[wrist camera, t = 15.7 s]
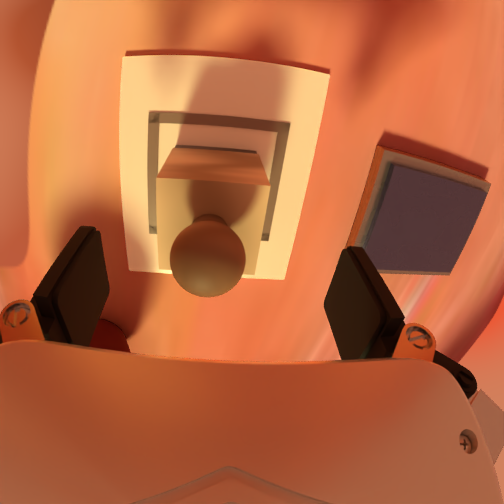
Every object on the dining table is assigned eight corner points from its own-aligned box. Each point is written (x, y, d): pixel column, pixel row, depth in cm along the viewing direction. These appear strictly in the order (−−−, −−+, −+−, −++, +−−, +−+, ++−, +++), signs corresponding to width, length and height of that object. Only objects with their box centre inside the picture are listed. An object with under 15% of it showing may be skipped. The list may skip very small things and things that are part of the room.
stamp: (257, 149, 16) (286, 230, 9) (246, 220, 18) (262, 330, 12) (175, 143, 15) (134, 220, 8) (173, 215, 18) (146, 324, 11)
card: (328, 74, 14) (330, 74, 14) (283, 277, 22) (284, 280, 21) (124, 56, 12) (122, 56, 12) (130, 268, 20) (128, 271, 20)
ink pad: (483, 178, 18) (495, 186, 17) (443, 268, 23) (451, 279, 22) (377, 144, 16) (388, 152, 15) (339, 263, 22) (346, 276, 20)
